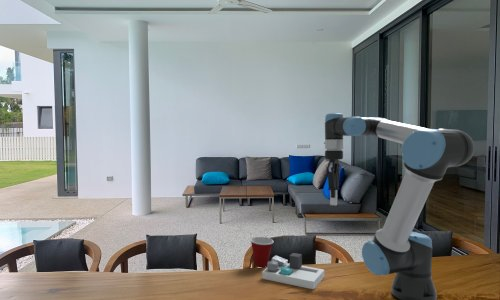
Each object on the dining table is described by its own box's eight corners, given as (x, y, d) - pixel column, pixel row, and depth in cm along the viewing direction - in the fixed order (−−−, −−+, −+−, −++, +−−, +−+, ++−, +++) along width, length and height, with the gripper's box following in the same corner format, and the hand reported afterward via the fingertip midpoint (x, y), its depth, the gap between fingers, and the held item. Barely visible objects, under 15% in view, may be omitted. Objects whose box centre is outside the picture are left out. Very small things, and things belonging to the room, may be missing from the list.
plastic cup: (273, 270, 156) (273, 243, 155) (249, 269, 157) (249, 242, 156) (274, 261, 167) (274, 236, 166) (251, 260, 168) (251, 235, 167)
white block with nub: (287, 263, 155) (288, 260, 154) (283, 266, 151) (284, 263, 151) (275, 258, 157) (275, 255, 157) (271, 261, 154) (271, 258, 154)
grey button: (279, 269, 149) (279, 262, 149) (275, 272, 145) (275, 265, 145) (270, 267, 151) (270, 260, 151) (265, 270, 147) (265, 263, 147)
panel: (324, 276, 148) (324, 267, 148) (313, 289, 136) (313, 279, 136) (276, 267, 159) (276, 258, 159) (262, 278, 147) (262, 269, 146)
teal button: (292, 275, 146) (292, 268, 146) (288, 279, 142) (288, 271, 142) (283, 273, 148) (283, 266, 148) (278, 276, 144) (278, 269, 144)
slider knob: (301, 265, 151) (301, 254, 151) (298, 268, 148) (298, 257, 148) (293, 264, 153) (293, 252, 153) (289, 267, 150) (289, 255, 150)
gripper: (329, 149, 159) (329, 201, 159) (320, 150, 147) (320, 206, 148) (346, 149, 155) (346, 203, 156) (338, 150, 144) (338, 208, 144)
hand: (333, 204), depth 152 cm, fingers closed
